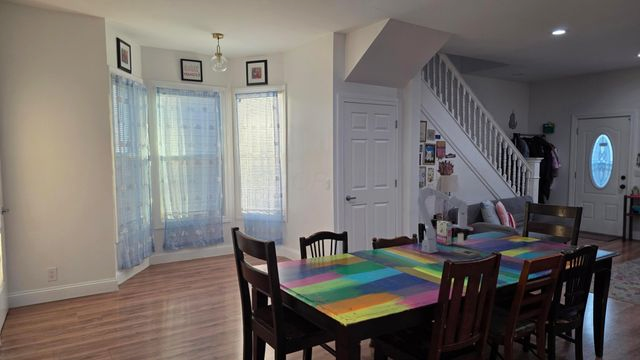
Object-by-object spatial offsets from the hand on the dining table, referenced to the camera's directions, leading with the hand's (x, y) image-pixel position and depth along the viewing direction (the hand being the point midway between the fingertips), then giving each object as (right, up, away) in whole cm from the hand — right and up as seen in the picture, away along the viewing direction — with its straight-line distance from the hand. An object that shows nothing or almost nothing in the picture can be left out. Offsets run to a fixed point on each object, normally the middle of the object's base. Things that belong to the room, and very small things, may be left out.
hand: (462, 239), depth 275 cm
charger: (0, -2, 0) cm, 2 cm away
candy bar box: (-4, -7, +28) cm, 29 cm away
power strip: (+1, -9, -4) cm, 10 cm away
